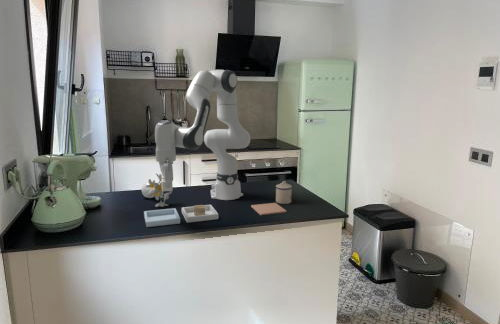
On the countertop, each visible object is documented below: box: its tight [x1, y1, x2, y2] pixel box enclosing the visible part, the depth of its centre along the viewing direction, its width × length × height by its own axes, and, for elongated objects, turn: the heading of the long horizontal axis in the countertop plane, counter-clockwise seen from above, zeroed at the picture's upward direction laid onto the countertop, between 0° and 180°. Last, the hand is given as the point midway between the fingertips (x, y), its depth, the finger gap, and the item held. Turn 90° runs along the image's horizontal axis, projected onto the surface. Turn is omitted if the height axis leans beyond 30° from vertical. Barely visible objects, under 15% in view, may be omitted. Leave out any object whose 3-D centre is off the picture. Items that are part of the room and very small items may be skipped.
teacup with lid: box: [275, 180, 293, 205], centre depth 204 cm, size 12×9×12 cm
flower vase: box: [141, 173, 173, 208], centre depth 201 cm, size 13×18×25 cm
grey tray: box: [181, 204, 219, 223], centre depth 179 cm, size 15×15×3 cm
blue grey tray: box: [143, 207, 181, 228], centre depth 173 cm, size 15×15×3 cm
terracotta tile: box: [250, 202, 287, 216], centre depth 191 cm, size 14×14×1 cm
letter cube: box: [160, 179, 174, 192], centre depth 171 cm, size 4×4×5 cm
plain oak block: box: [193, 204, 205, 216], centre depth 179 cm, size 4×4×4 cm
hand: (167, 185), depth 171 cm, fingers closed on letter cube, 4 cm apart
